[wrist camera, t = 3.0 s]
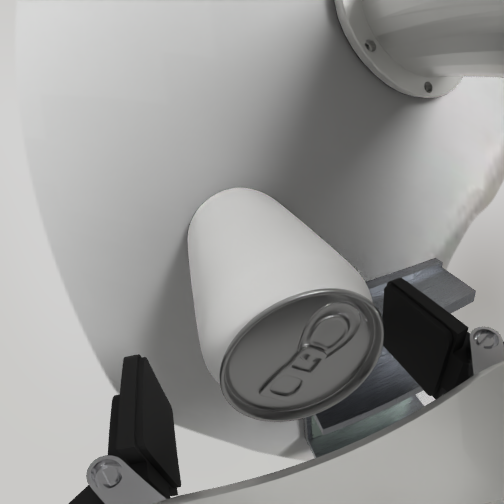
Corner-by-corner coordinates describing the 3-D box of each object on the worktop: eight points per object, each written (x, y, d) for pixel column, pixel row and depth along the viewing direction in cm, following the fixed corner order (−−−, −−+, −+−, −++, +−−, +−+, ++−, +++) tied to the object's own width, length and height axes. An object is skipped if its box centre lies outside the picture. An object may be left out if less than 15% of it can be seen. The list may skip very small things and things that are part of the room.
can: (305, 217, 21) (425, 317, 10) (253, 295, 22) (317, 436, 11) (221, 166, 18) (288, 234, 7) (168, 256, 20) (169, 408, 9)
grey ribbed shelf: (292, 304, 23) (322, 350, 18) (435, 258, 25) (477, 285, 20) (305, 438, 31) (321, 475, 26) (407, 395, 33) (430, 424, 28)
